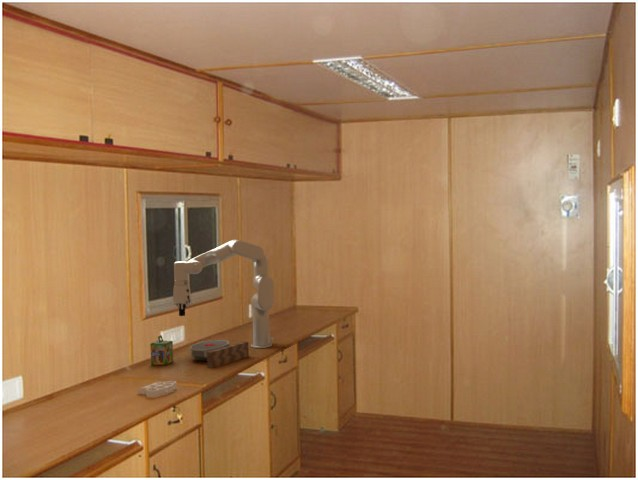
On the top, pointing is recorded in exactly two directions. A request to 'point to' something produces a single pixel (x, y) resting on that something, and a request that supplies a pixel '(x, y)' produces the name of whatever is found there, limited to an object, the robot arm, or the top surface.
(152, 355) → the chalk box
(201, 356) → the first aid kit
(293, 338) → the top surface
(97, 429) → the top surface
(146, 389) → the white muffin tray
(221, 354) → the walnut board
